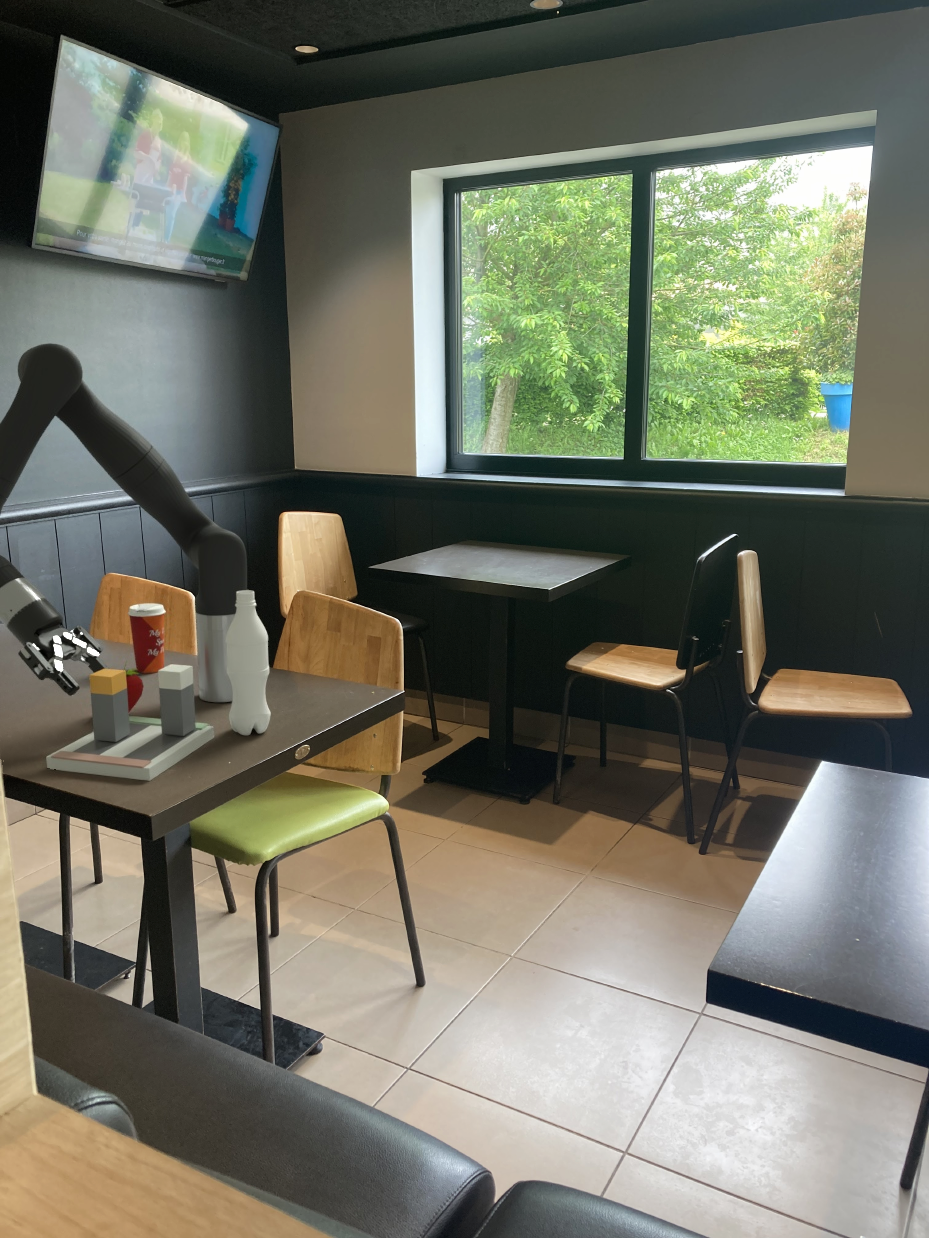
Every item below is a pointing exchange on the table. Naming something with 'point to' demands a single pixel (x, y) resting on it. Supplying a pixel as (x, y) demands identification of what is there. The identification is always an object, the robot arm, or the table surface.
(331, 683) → the table surface
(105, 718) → the orange-topped grey pillar
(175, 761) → the grey base plate
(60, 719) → the table surface
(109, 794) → the table surface
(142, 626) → the paper cup
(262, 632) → the water bottle
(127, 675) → the strawberry
